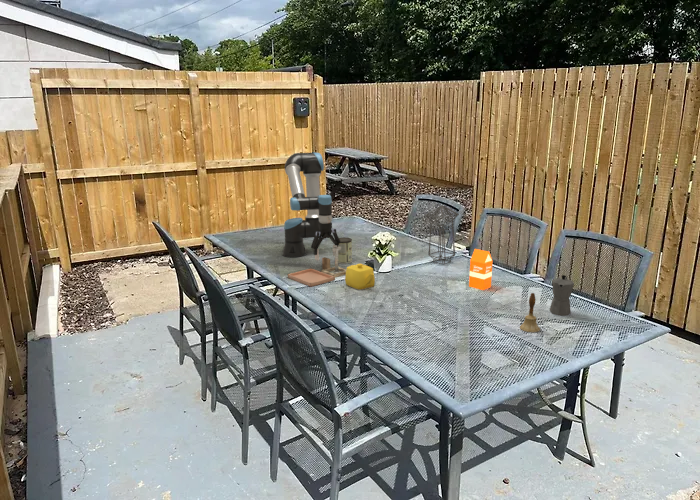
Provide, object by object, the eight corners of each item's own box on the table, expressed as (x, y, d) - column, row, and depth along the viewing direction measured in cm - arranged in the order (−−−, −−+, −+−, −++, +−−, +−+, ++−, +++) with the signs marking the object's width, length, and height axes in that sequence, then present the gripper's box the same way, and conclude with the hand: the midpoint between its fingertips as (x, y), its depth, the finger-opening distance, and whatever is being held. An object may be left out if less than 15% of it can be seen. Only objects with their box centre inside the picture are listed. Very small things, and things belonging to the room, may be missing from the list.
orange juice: (476, 283, 288) (478, 247, 282) (491, 286, 281) (493, 250, 276) (468, 286, 282) (470, 250, 277) (483, 290, 276) (485, 253, 271)
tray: (287, 277, 299) (287, 274, 299) (311, 271, 310) (311, 268, 309) (310, 286, 283) (310, 283, 283) (334, 280, 294) (334, 276, 294)
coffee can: (336, 258, 335) (336, 237, 331) (352, 259, 334) (352, 237, 330) (334, 263, 325) (334, 241, 322) (351, 263, 324) (351, 241, 320)
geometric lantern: (443, 267, 316) (444, 209, 307) (423, 262, 328) (423, 206, 319) (460, 261, 326) (461, 205, 317) (439, 257, 338) (440, 202, 329)
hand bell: (516, 325, 232) (519, 290, 228) (535, 324, 233) (538, 290, 229) (524, 333, 224) (527, 297, 220) (543, 332, 225) (546, 296, 221)
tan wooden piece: (315, 270, 311) (315, 259, 309) (331, 266, 318) (331, 255, 317) (334, 277, 298) (334, 265, 297) (350, 273, 306) (350, 261, 304)
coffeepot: (568, 319, 238) (573, 280, 234) (546, 315, 243) (550, 277, 238) (573, 307, 252) (577, 271, 247) (552, 304, 256) (555, 268, 251)
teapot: (381, 288, 281) (382, 266, 278) (363, 293, 274) (363, 271, 271) (358, 278, 297) (358, 258, 293) (340, 283, 290) (340, 262, 286)
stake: (330, 273, 306) (330, 247, 302) (338, 271, 309) (337, 246, 305) (335, 275, 303) (334, 249, 299) (342, 273, 306) (342, 247, 302)
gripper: (312, 226, 295) (313, 263, 300) (346, 220, 311) (346, 255, 316) (303, 224, 300) (305, 260, 305) (337, 218, 316) (338, 252, 321)
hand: (326, 257), depth 311 cm, fingers open, 13 cm apart
